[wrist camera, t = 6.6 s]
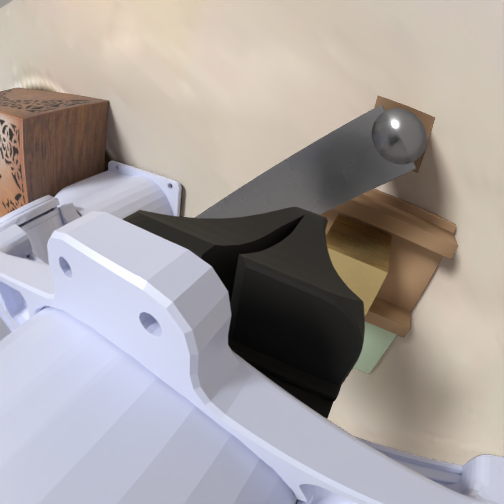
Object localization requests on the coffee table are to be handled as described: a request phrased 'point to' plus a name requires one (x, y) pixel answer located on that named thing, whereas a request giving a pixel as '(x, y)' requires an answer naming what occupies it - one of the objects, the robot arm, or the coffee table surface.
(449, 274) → the coffee table surface
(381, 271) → the tan cube
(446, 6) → the coffee table surface
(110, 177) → the robot arm
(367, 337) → the pad
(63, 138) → the tissue box cover
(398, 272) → the body
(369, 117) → the lever
